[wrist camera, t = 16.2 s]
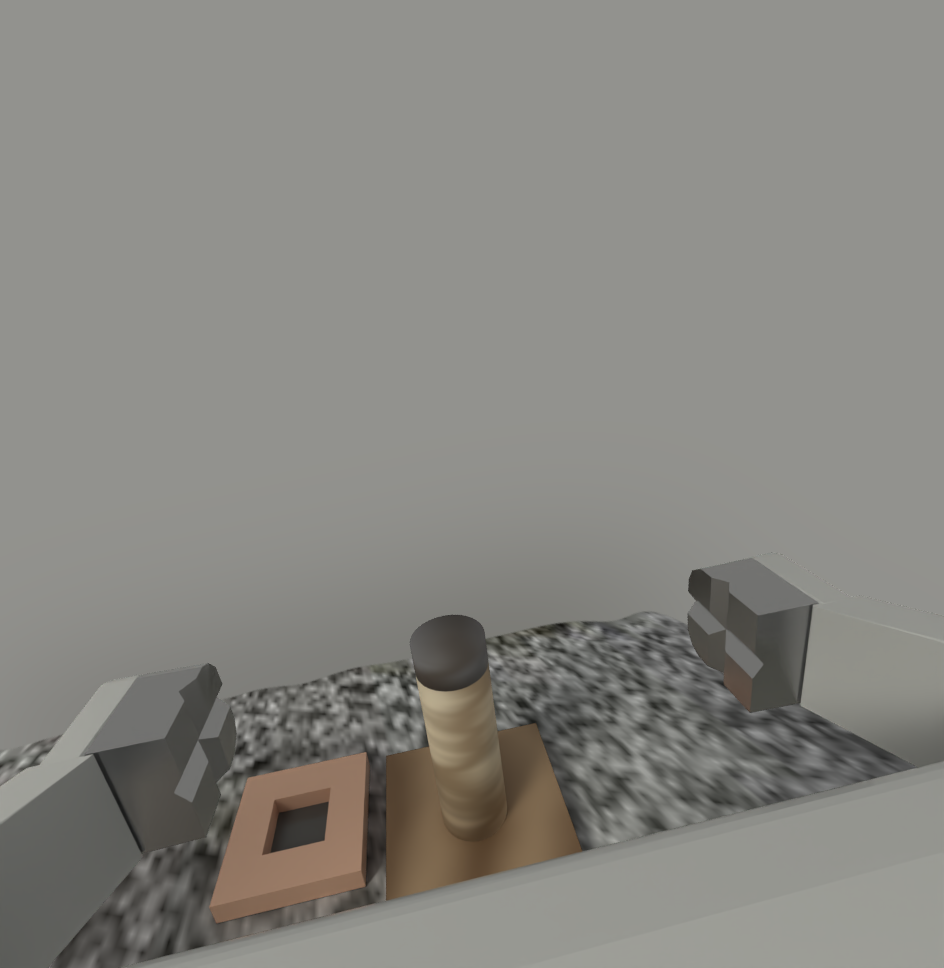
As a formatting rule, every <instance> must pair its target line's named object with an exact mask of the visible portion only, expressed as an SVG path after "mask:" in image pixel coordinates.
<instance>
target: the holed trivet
mask: <svg viewBox="0 0 944 968" xmlns="http://www.w3.org/2000/svg"><path fill="white" fill-rule="evenodd" d="M369 778H370V765H369V761H368V757H367V752H364V753H360V754H355V755H350V756H346V757H341V758H337V759H332V760H328V761H323V762H318V763H314V764H309V765H305V766H300V767H295V768H291V769H286V770H282V771H277V772H273V773H268V774H263V775H259V776H254V777H250V778H247V782H246V785H245V788H244V792H243V795H242V799H241V802H240V805H239V809H238V812H237V815H236V819H235V822H234V826H233V829H232V832H231V836H230V839H229V842H228V846H227V849H226V853H225V856H224V859H223V863H222V866H221V869H220V873H219V876H218V880H217V883H216V886H215V890H214V893H213V896H212V900H211V903H210V907H209V908H210V910H211V912H212V915H213V917H214V919H215V921H216V923H221V922H225V921H229V920H233V919H237V918H241V917H245V916H249V915H253V914H257V913H261V912H265V911H269V910H273V909H277V908H281V907H285V906H289V905H293V904H297V903H301V902H306V901H310V900H314V899H318V898H322V897H326V896H330V895H334V894H338V893H342V892H346V891H350V890H354V889H358V888H362V887H366V862H367V834H368V806H369Z"/></svg>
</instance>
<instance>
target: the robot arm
mask: <svg viewBox="0 0 944 968" xmlns="http://www.w3.org/2000/svg"><path fill="white" fill-rule="evenodd" d="M688 591H689V593H690V594H691V595H692V596H693V597H694V599H695V600H696V602H695V603H694V605H693V606H692V608H691V609H690V611H689V612H688V632H689V635H690V638H691V642H692V645H693V647H694V649H695V650H696V652H697V654H698V656H699V657H700V658H701V659H702V660H703V661H704V663H705V664H706V665H707V666H709V667H711V668H713V669H716V670H718V671H720V672H723V673H724V685H725V686H726V687H727V688H728V689H729V690H730V692H731V693H732V694H733V695H734V696H735V697H736V698H737V699H738V700H739V701H740V703H741V704H742V705H743V706H744V707H745V708H746V709H747V710H748V711H749V712H750V713H752V712H757V711H762V710H767V709H772V708H778V707H783V706H788V705H793V704H798V703H801V704H800V706H802V707H804V708H806V709H808V710H810V711H811V712H813V713H815V714H817V715H819V716H821V717H823V718H825V719H827V720H829V721H831V722H832V723H834V724H836V725H838V726H840V727H842V728H844V729H846V730H848V731H850V732H852V733H853V734H855V735H857V736H859V737H861V738H863V739H865V740H867V741H869V742H871V743H873V744H874V745H876V746H878V747H880V748H882V749H884V750H886V751H888V752H890V753H892V754H894V755H895V756H897V757H899V758H901V759H903V760H905V761H907V762H909V763H911V764H913V765H915V766H916V767H918V768H914V769H910V770H906V771H902V772H898V773H894V774H890V775H886V776H882V777H878V778H874V779H870V780H866V781H862V782H858V783H854V784H850V785H846V786H842V787H838V788H834V789H830V790H826V791H822V792H818V793H814V794H810V795H806V796H802V797H798V798H794V799H790V800H786V801H782V802H778V803H774V804H770V805H766V806H762V807H758V808H754V809H750V810H746V811H742V812H738V813H734V814H730V815H726V816H722V817H718V818H714V819H710V820H706V821H702V822H698V823H694V824H690V825H686V826H682V827H678V828H674V829H670V830H666V831H662V832H658V833H654V834H650V835H646V836H642V837H638V838H634V839H630V840H626V841H622V842H618V843H614V844H610V845H606V846H602V847H598V848H594V849H590V850H586V851H582V852H578V853H574V854H570V855H566V856H562V857H558V858H554V859H550V860H546V861H542V862H538V863H534V864H530V865H526V866H523V867H519V868H515V869H511V870H507V871H503V872H499V873H495V874H491V875H487V876H483V877H479V878H475V879H471V880H467V881H463V882H459V883H455V884H451V885H447V886H443V887H439V888H435V889H431V890H427V891H423V892H419V893H415V894H411V895H407V896H403V897H399V898H395V899H391V900H387V901H383V902H379V903H375V904H371V905H367V906H363V907H359V908H355V909H351V910H347V911H343V912H339V913H335V914H331V915H327V916H323V917H319V918H315V919H311V920H307V921H303V922H299V923H295V924H291V925H287V926H283V927H279V928H275V929H271V930H267V931H263V932H259V933H255V934H251V935H247V936H243V937H239V938H235V939H231V940H227V941H224V942H220V943H216V944H212V945H208V946H204V947H200V948H196V949H192V950H188V951H184V952H180V953H176V954H172V955H168V956H164V957H160V958H156V959H152V960H148V961H144V962H140V963H136V964H132V965H128V966H124V967H120V968H944V616H942V615H938V614H934V613H929V612H926V611H921V610H917V609H913V608H909V607H905V606H901V605H897V604H893V603H888V602H885V601H881V600H877V599H872V598H868V597H864V596H855V597H850V596H849V595H847V594H846V593H844V592H842V591H841V590H839V589H837V588H836V587H834V586H832V585H831V584H829V583H827V582H826V581H824V580H823V579H821V578H819V577H818V576H816V575H814V574H813V573H811V572H810V571H808V570H806V569H805V568H803V567H801V566H800V565H798V564H796V563H795V562H793V561H792V560H790V559H788V558H787V557H785V556H783V555H782V554H778V553H767V554H763V555H759V556H754V557H750V558H746V559H743V560H738V561H734V562H729V563H725V564H720V565H715V566H710V567H706V568H701V569H696V570H692V572H691V575H690V577H689V588H688ZM221 686H222V682H221V679H220V677H219V674H218V672H217V669H216V667H215V666H213V665H211V664H209V663H206V664H200V665H194V666H189V667H183V668H177V669H171V670H166V671H159V672H154V673H148V674H144V675H136V676H131V677H126V678H121V679H116V680H111V681H109V682H107V683H105V684H102V685H101V686H100V688H99V689H98V690H97V692H96V693H95V694H94V695H93V697H92V698H91V699H90V701H89V702H88V703H87V704H86V706H85V707H84V708H83V710H82V711H81V712H80V713H79V715H78V716H77V717H76V719H75V720H74V721H73V723H72V724H71V725H70V726H69V728H68V729H67V730H66V732H65V733H64V734H63V736H62V737H61V738H60V739H59V741H58V742H57V743H56V745H55V746H54V747H53V748H52V750H51V751H50V752H49V754H48V755H47V756H46V758H45V759H44V760H43V761H42V763H41V764H40V765H38V766H34V767H29V768H26V769H25V770H23V771H22V772H21V773H19V774H18V775H16V776H15V777H13V778H12V779H10V780H9V781H7V782H6V783H5V784H3V785H2V786H0V968H48V967H49V966H50V964H51V963H52V962H53V961H54V960H55V959H56V957H57V956H58V955H59V954H60V953H61V952H62V950H63V949H64V948H65V947H66V946H67V945H68V944H69V942H70V941H71V940H72V939H73V938H74V937H75V935H76V934H77V933H78V932H79V931H80V930H81V928H82V927H83V926H84V925H85V924H86V923H87V921H88V920H89V919H90V918H91V917H92V916H93V914H94V913H95V912H96V911H97V910H98V909H99V907H100V906H101V905H102V904H103V903H104V902H105V900H106V899H107V898H108V897H109V896H110V895H111V894H112V892H113V891H114V890H115V889H116V888H117V887H118V885H119V884H120V883H121V882H122V881H123V880H124V878H125V877H126V876H127V875H128V874H129V873H130V871H131V870H132V869H133V868H134V867H135V866H136V864H137V863H138V862H139V861H140V860H141V859H142V857H143V855H142V854H143V853H147V852H151V851H155V850H158V849H162V848H166V847H170V846H174V845H178V844H182V843H186V842H189V841H193V840H197V839H201V838H205V837H206V836H207V834H208V831H209V828H210V825H211V822H212V819H213V816H214V813H215V811H216V808H217V805H218V802H219V799H220V796H221V794H220V791H219V788H218V786H217V783H216V782H217V781H218V780H219V779H220V778H221V777H222V776H223V775H224V774H225V773H226V772H227V771H228V770H229V769H230V767H231V764H232V761H233V757H234V754H235V746H236V734H237V733H236V726H235V719H234V716H233V713H232V710H231V707H230V706H229V705H228V704H226V703H225V702H223V701H222V700H220V699H219V698H217V695H218V693H219V691H220V688H221Z"/></svg>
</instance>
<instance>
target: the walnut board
mask: <svg viewBox="0 0 944 968" xmlns="http://www.w3.org/2000/svg"><path fill="white" fill-rule="evenodd" d="M497 732H498V740H499V748H500V755H501V763H502V771H503V778H504V786H505V794H506V801H507V815H506V818H505V821H504V823H503V825H502V826H501V827H500V829H499V830H498V831H497V832H496V833H495V834H493V835H492V836H490V837H489V838H487V839H484V840H481V841H475V842H470V841H464V840H461V839H458V838H456V837H455V836H453V835H452V834H451V833H450V832H449V831H448V829H447V828H446V826H445V824H444V821H443V816H442V810H441V805H440V800H439V795H438V789H437V784H436V779H435V774H434V768H433V763H432V758H431V753H430V747H425V748H420V749H415V750H411V751H406V752H402V753H397V754H393V755H388V756H386V901H387V900H391V899H395V898H399V897H403V896H407V895H411V894H415V893H419V892H423V891H427V890H431V889H435V888H439V887H443V886H447V885H451V884H455V883H459V882H463V881H467V880H471V879H475V878H479V877H483V876H487V875H491V874H495V873H499V872H503V871H507V870H511V869H515V868H519V867H523V866H526V865H530V864H534V863H538V862H542V861H546V860H550V859H554V858H558V857H562V856H566V855H570V854H574V853H578V852H582V849H581V846H580V843H579V840H578V838H577V835H576V832H575V829H574V827H573V824H572V821H571V818H570V816H569V813H568V810H567V807H566V805H565V802H564V799H563V796H562V794H561V791H560V788H559V785H558V782H557V780H556V777H555V774H554V771H553V769H552V766H551V763H550V760H549V758H548V755H547V752H546V749H545V747H544V744H543V741H542V738H541V736H540V733H539V730H538V727H537V725H536V723H534V724H529V725H524V726H520V727H515V728H511V729H506V730H502V731H497Z"/></svg>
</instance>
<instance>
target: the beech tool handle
mask: <svg viewBox="0 0 944 968" xmlns="http://www.w3.org/2000/svg"><path fill="white" fill-rule="evenodd" d="M410 648H411V653H412V658H413V663H414V669H415V674H416V679H417V684H418V690H419V695H420V700H421V705H422V711H423V716H424V721H425V726H426V732H427V737H428V742H429V747H430V753H431V758H432V763H433V768H434V774H435V779H436V784H437V789H438V795H439V800H440V805H441V810H442V816H443V821H444V824H445V826H446V828H447V829H448V831H449V832H450V833H451V834H452V835H453V836H455V837H456V838H458V839H461V840H464V841H470V842H475V841H481V840H484V839H487V838H489V837H490V836H492V835H493V834H495V833H496V832H497V831H498V830H499V829H500V827H501V826H502V825H503V823H504V821H505V818H506V815H507V801H506V794H505V786H504V778H503V771H502V763H501V755H500V748H499V740H498V732H497V724H496V717H495V709H494V701H493V694H492V686H491V678H490V671H489V663H488V655H487V648H486V640H485V632H484V629H483V627H482V625H481V624H480V623H479V622H478V621H476V620H475V619H473V618H470V617H467V616H462V615H447V616H442V617H437V618H434V619H432V620H429V621H428V622H426V623H424V624H422V625H421V626H420V627H418V628H417V629H416V630H415V632H414V633H413V635H412V637H411V639H410Z"/></svg>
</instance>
